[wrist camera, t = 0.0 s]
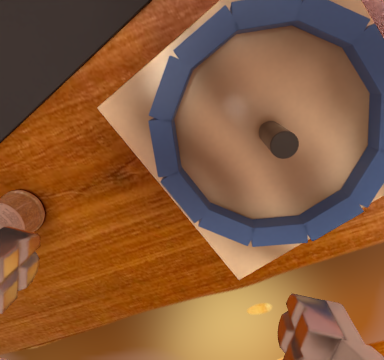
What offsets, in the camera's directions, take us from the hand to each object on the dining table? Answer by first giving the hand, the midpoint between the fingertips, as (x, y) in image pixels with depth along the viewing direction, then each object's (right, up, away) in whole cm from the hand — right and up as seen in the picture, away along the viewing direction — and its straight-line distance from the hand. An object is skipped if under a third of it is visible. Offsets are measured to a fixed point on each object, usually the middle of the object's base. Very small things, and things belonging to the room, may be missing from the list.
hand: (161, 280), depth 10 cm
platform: (+7, +8, +16) cm, 19 cm away
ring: (+7, +7, +12) cm, 15 cm away
